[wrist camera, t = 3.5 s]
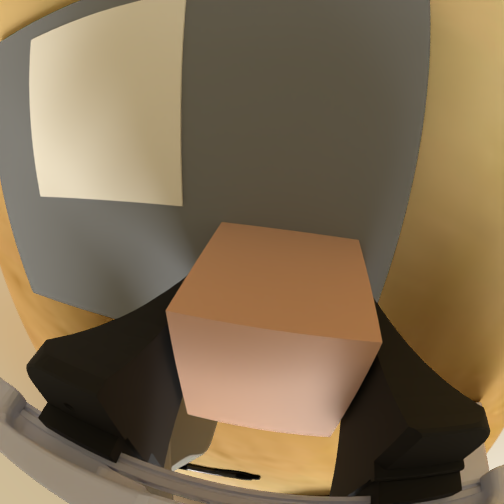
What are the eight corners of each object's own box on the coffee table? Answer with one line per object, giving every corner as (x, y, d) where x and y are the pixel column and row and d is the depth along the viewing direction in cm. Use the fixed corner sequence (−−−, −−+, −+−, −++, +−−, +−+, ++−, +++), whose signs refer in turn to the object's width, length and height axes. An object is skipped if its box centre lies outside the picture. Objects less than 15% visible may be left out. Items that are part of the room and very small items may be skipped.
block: (358, 239, 10) (382, 342, 6) (331, 338, 13) (329, 437, 9) (221, 221, 11) (165, 310, 7) (222, 322, 14) (187, 414, 9)
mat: (421, -3, 6) (430, -9, 5) (352, 350, 14) (353, 363, 13) (3, 45, 9) (-8, 46, 8) (40, 285, 17) (32, 293, 16)
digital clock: (149, 312, 16) (50, 481, 6) (274, 393, 17) (240, 554, 8) (90, 391, 23) (43, 476, 14) (167, 439, 25) (133, 524, 16)
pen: (260, 469, 27) (258, 476, 26) (261, 476, 27) (259, 483, 26) (149, 449, 30) (146, 454, 29) (153, 456, 30) (150, 462, 29)
